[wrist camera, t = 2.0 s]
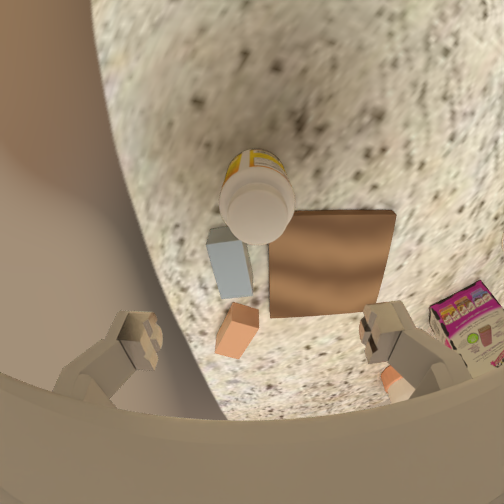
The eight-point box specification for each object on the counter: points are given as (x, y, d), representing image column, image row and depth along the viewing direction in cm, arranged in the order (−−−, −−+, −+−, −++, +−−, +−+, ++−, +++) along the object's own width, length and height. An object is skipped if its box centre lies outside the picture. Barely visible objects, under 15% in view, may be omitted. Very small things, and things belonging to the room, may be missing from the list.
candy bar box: (428, 324, 39) (466, 404, 25) (428, 305, 36) (473, 390, 22) (478, 298, 36) (522, 367, 22) (481, 278, 34) (532, 349, 20)
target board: (267, 211, 29) (268, 216, 28) (392, 210, 28) (396, 214, 27) (269, 311, 36) (270, 318, 35) (370, 304, 36) (373, 310, 35)
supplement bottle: (236, 206, 28) (227, 263, 20) (220, 155, 26) (202, 190, 17) (289, 194, 28) (306, 247, 19) (278, 141, 25) (292, 168, 16)
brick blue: (210, 228, 30) (205, 244, 27) (242, 223, 30) (241, 239, 27) (224, 279, 34) (221, 299, 31) (253, 276, 33) (253, 295, 30)
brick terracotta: (233, 301, 35) (231, 320, 32) (258, 308, 36) (259, 328, 33) (216, 333, 39) (214, 353, 36) (239, 340, 40) (238, 359, 37)
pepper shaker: (379, 384, 48) (401, 466, 31) (382, 366, 44) (409, 457, 28) (411, 373, 47) (437, 451, 30) (416, 354, 43) (449, 440, 27)
